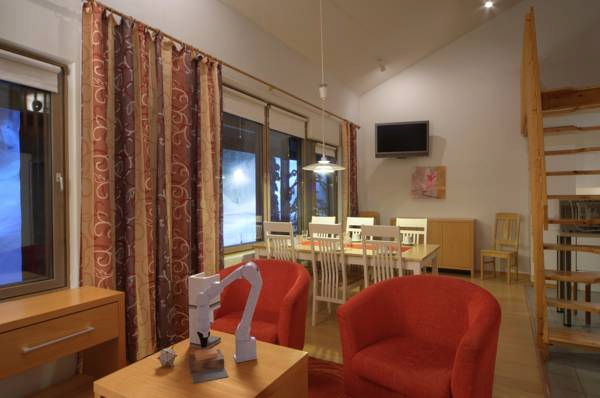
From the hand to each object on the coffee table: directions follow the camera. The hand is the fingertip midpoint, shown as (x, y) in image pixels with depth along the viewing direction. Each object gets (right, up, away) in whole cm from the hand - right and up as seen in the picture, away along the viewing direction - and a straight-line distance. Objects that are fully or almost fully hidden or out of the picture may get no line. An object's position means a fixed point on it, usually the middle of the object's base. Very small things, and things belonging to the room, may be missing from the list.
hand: (203, 347), depth 170 cm
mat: (+6, -6, -16) cm, 18 cm away
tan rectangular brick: (+3, -1, -6) cm, 7 cm away
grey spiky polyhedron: (-15, -6, -6) cm, 17 cm away
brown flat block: (+3, -5, -6) cm, 9 cm away
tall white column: (-4, -5, +17) cm, 19 cm away
